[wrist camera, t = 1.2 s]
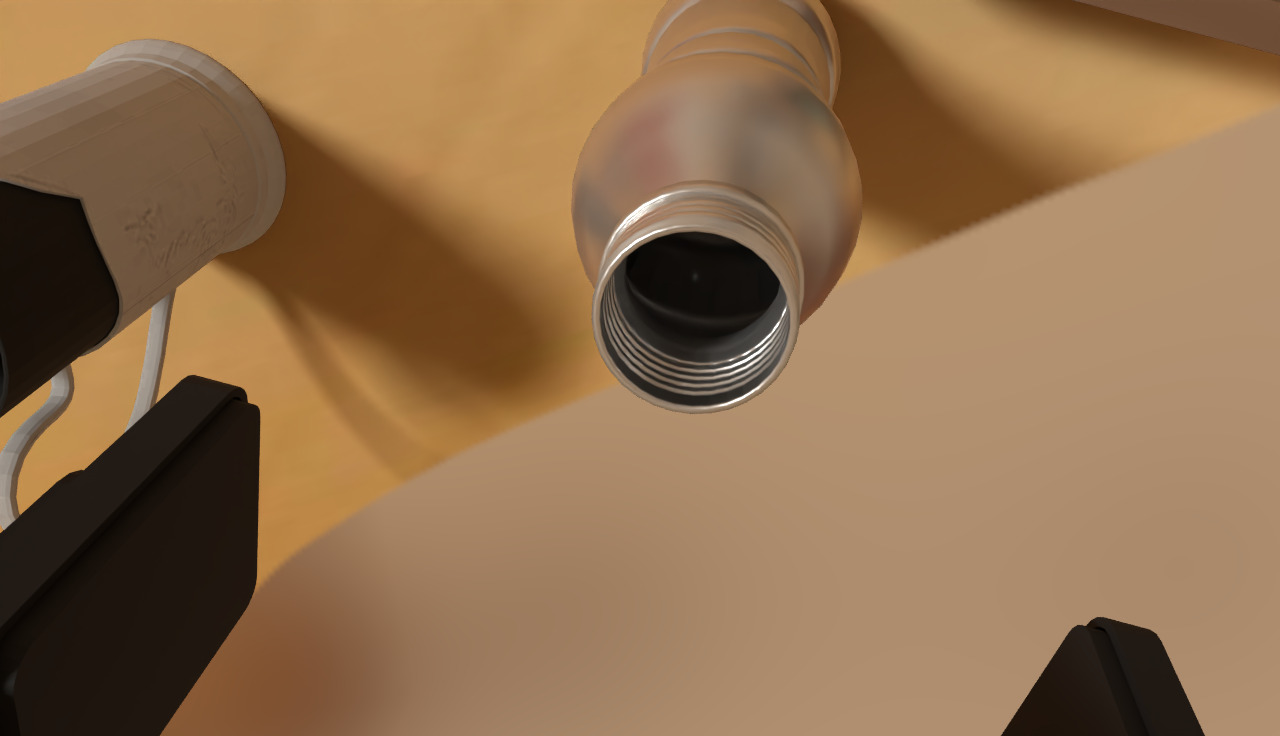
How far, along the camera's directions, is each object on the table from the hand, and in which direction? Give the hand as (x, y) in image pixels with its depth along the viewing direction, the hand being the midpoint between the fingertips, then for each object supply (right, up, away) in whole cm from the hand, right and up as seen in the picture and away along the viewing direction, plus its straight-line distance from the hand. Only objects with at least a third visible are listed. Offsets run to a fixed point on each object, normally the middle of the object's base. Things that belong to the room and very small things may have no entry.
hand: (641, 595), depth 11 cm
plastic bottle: (+4, +14, +23) cm, 27 cm away
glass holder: (-18, +9, +29) cm, 35 cm away
